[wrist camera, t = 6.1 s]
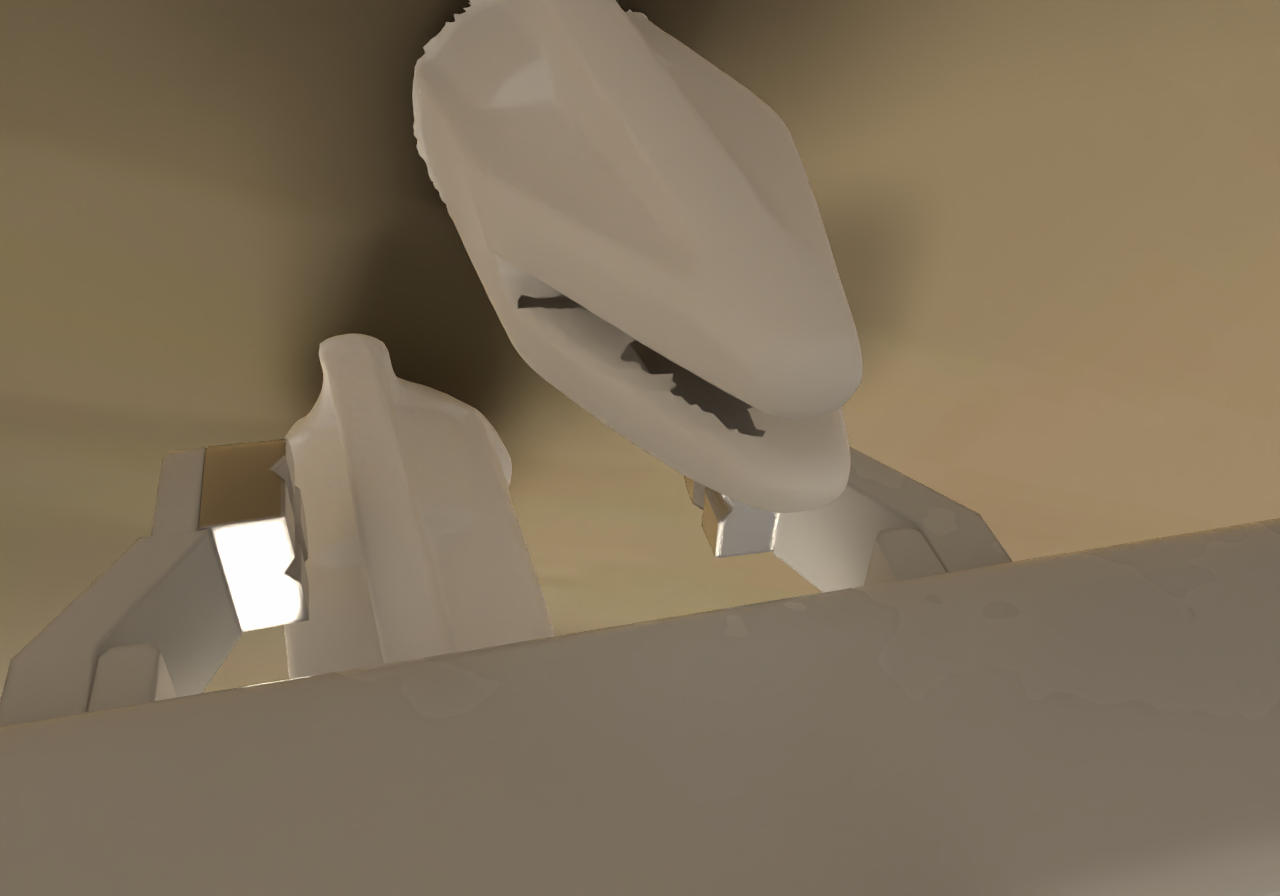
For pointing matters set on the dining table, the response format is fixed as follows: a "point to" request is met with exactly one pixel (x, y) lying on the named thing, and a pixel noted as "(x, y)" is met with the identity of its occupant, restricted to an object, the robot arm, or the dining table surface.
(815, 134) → the dining table surface
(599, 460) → the dining table surface
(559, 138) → the shaker set
